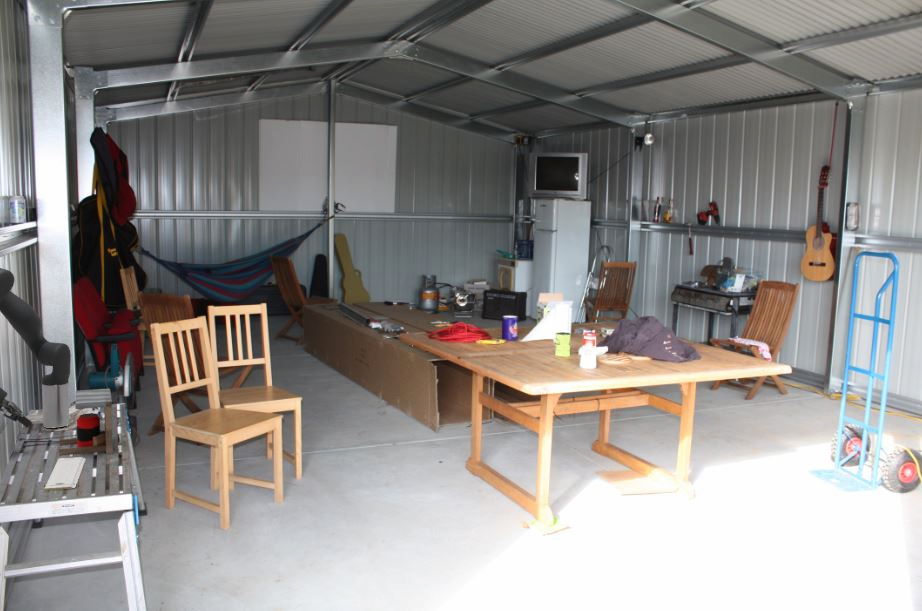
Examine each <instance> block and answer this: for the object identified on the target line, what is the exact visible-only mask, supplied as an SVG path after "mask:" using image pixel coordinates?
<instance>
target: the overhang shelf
mask: <svg viewBox="0 0 922 611" xmlns="http://www.w3.org/2000/svg"><path fill="white" fill-rule="evenodd" d="M112 401H113V400H112V393H111V389H110V388H99V389H86V390H85V389H83V390H82V389H81V390H75V402H74V406H75V410H81V409H82V410H85V409H97V408H98V409H99V408H104V430H102V429H100V435H97V436H94V437H93V446H88V447H77V446H76V447H67V448H59V449H58V456H63V455H64V456H65V455H77V454H88V453H98V452H99V453H100V452H105V454H106V455H109V453H112V454H113V402H112ZM71 445H77V437H75V438H64V439H63V438H61V439H59V446H71Z"/></svg>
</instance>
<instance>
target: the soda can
mask: <svg viewBox="0 0 922 611" xmlns="http://www.w3.org/2000/svg"><path fill="white" fill-rule="evenodd" d="M100 430H101V418H100V417H99V416H98V414H96V413H89V412H88V413H83V414H80V415H78V417H77V419H76V438H77V444H76V448H77V447H88V446H93V437H94V436H97V435H100Z"/></svg>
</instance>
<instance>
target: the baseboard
mask: <svg viewBox="0 0 922 611" xmlns="http://www.w3.org/2000/svg"><path fill="white" fill-rule="evenodd" d="M86 459H87V458H85V457H83V456H78V457H77V456H75V457H62V458H61V457H59V458H57V461H56V463H55V466H54V468H53V470H52V472H51V473H50V476H49V478H48V481H47V482H46V484H45V485H44V486H43V487H44V488H43V489H44V490H43V492H49V491H48V490H56V491H64V490H63V489H69V490H72V489H71V488H75V487H76V488H77V489H79V487H80V486H79V485H76V484H78V483H79V482H78V481H79V480H78V479H80V476H81V474H82V471H83V468H84V466H85V462H86ZM76 488H75V489H76Z"/></svg>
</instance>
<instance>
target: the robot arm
mask: <svg viewBox="0 0 922 611" xmlns="http://www.w3.org/2000/svg"><path fill="white" fill-rule="evenodd" d="M14 284H15V275H14V273H13V272H12V271H11V270H8V269H5V268H2V267H0V313H1V314H2V315H3V317H5V319H6V320H7V321H8V323H9V324H10V326H11V327H12V328H13V329H14V330H15V331H16V333H17V334H19V336H20V337H21V339H22V340H23V341H24V343H25V344H26V345H27V346H28V348H29V350H30V352H31V353H32V355H33V357H34V358H35V359H36V361H37V362H38V363H39V364H40V365H43V366H47V367H52V371H51V373H48V374H45V375H42V378H41V395H42V396H41V397H42V398H41V400H42V427H43V426H45V427H59V426H64V425H67V424H68V423H69V424H70V398H69V397H70V394H69V393H70V391H69V379H70V375H71V361H72V359H71V358H72V357H71V354H72V353H71V350H70V347H69V345H68V344H67V343H61V342H52V341H51V342H50V341H49V340H47V339H46V337H44V335H43V334H42V332H41V330H42V320H41V317H40V316H39V314H38V313H37V312H36V310H35V309H34V308H33V307H32V306H31V305H30V304H29V303H28V302H26V301H25V300H24V299H23V298H20V297H19V296H18V295H17V294H15V293H14V292H13V291H12V289H13V287H14ZM7 396H8V392H7V391H6V390H5V389H3V388H1V387H0V413H1V414H2V415H3V416H4V417H5V418H7V419H9V420H11V421H13V422H15V423H16V422H19V423H20V424H21V425H22V426H24V427H25V428H29V427H30V426H31V425H32V424H33V422H32V421H31V420H30V419H29V418H27V416H26V415H24V413H23V411H22V410H21V409H20V408H19V407H18V406H17V405H16V404H15V403H14V402H13V401H11V400H7V399H6V398H7Z"/></svg>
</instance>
